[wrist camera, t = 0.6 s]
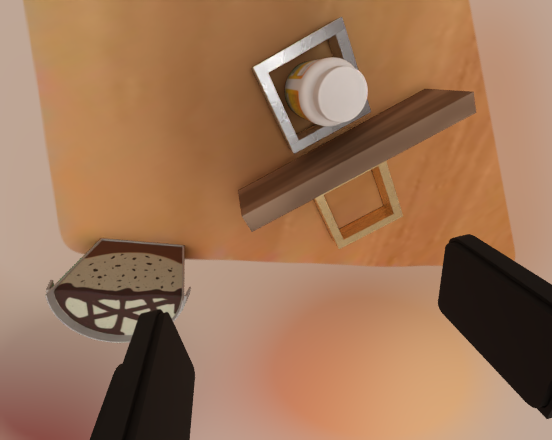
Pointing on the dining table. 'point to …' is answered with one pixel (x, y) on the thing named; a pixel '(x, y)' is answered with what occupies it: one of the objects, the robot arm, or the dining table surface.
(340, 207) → the dining table surface
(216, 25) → the dining table surface
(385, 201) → the double square frame
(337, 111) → the supplement bottle
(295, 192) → the brown wooden plank
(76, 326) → the food container
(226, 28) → the dining table surface
